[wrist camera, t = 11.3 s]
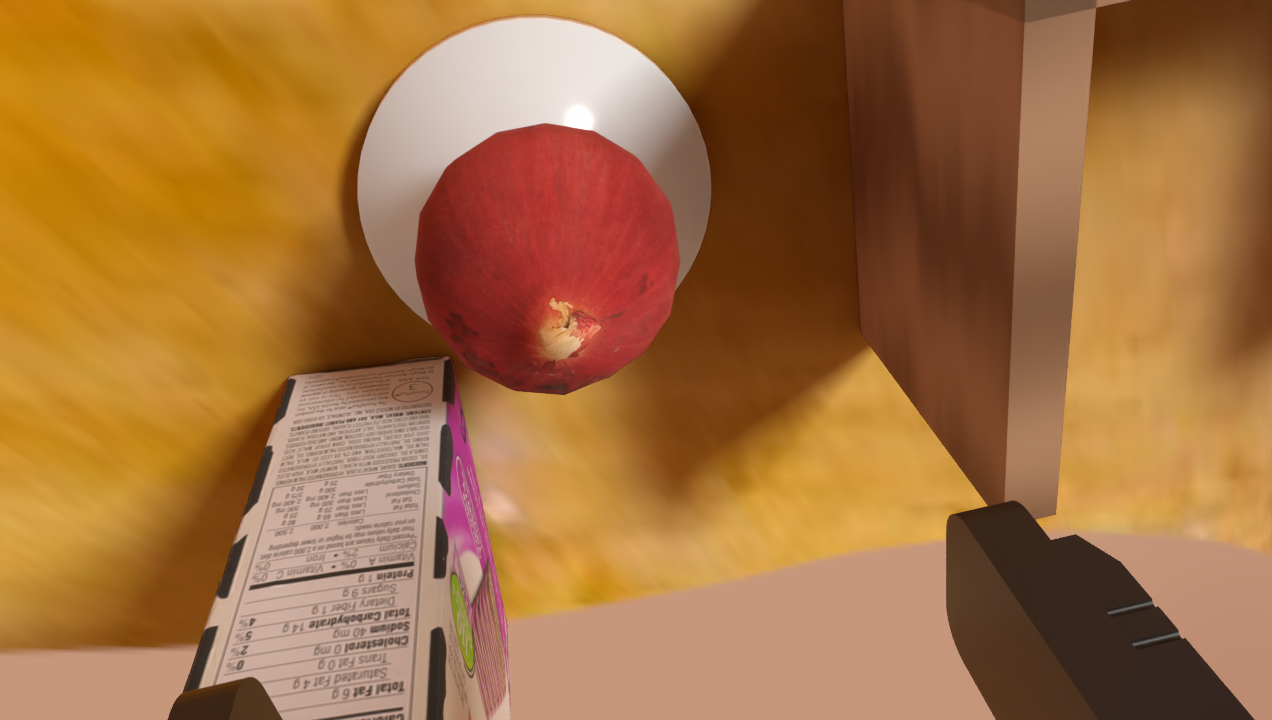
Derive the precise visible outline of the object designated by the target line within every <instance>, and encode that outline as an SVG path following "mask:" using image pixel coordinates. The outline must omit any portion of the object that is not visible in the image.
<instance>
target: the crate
mask: <svg viewBox="0 0 1272 720" xmlns="http://www.w3.org/2000/svg"><path fill="white" fill-rule="evenodd" d="M1125 1H1129V0H843V17H844V35H845V53H846V71H847V89H848V107H849V125H850V143H851V161H852V179H853V197H854V215H855V233H856V251H857V269H858V287H859V305H860V323H861V334H862V335H863V337H864V338H865V340H866V341H867V342H868V344H869V345H870V346H871V348H872V349H873V350H874V352H875V353H876V354H877V356H878V357H879V359H880V360H881V361H882V363H883V364H884V365H885V367H886V368H887V369H888V371H889V372H890V373H891V375H892V376H893V378H894V379H895V380H896V382H897V383H898V384H899V386H900V387H901V388H902V390H903V391H904V392H905V394H906V395H907V397H908V398H909V399H910V401H911V402H912V403H913V405H914V406H915V407H916V409H917V410H918V411H919V413H920V414H921V416H922V417H923V418H924V420H925V421H926V422H927V424H928V425H929V426H930V428H931V429H932V430H933V432H934V433H935V435H936V436H937V437H938V439H939V440H940V441H941V443H942V444H943V445H944V447H945V448H946V449H947V451H948V452H949V454H950V455H951V456H952V458H953V459H954V460H955V462H956V463H957V464H958V466H959V467H960V468H961V470H962V471H963V473H964V474H965V475H966V477H967V478H968V479H969V481H970V482H971V483H972V485H973V486H974V487H975V489H976V490H977V492H978V493H979V494H980V496H981V497H982V498H983V500H984V501H985V502H986V504H987V505H988V506H991V505H995V504H999V503H1004V502H1008V501H1012V500H1014V501H1017V502H1019V503H1021V504H1022V505H1023V506H1024V507H1025V508H1026V509H1027V510H1028V511H1029V513H1030V514H1031V515H1032V517H1033V518H1034V519H1039V518H1043V517H1047V516H1052V515H1056V506H1057V494H1058V481H1059V469H1060V456H1061V444H1062V431H1063V419H1064V406H1065V393H1066V381H1067V368H1068V356H1069V343H1070V331H1071V318H1072V306H1073V293H1074V280H1075V268H1076V255H1077V243H1078V230H1079V218H1080V205H1081V192H1082V180H1083V167H1084V155H1085V142H1086V130H1087V117H1088V105H1089V92H1090V79H1091V67H1092V54H1093V42H1094V29H1095V17H1096V8H1097V7H1102V6H1106V5H1111V4H1116V3H1120V2H1125Z"/></svg>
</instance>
